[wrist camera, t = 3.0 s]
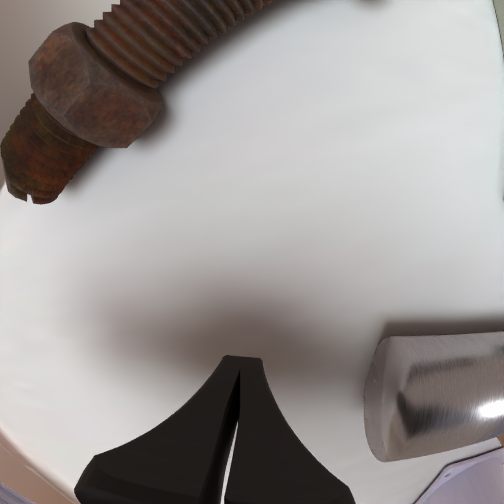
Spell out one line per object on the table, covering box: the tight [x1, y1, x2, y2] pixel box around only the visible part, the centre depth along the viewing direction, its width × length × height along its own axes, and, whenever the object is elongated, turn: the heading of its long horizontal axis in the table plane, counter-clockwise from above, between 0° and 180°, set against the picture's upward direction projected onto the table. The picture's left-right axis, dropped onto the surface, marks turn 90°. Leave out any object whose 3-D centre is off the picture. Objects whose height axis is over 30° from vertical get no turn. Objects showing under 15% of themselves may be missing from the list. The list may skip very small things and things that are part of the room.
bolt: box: [0, 0, 272, 204], centre depth 7 cm, size 6×5×15 cm
